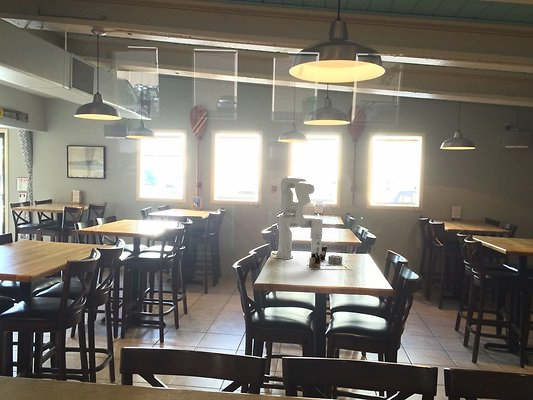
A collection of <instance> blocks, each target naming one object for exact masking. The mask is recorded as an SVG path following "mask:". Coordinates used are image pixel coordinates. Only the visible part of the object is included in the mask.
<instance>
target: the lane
mask: <svg viewBox="0 0 533 400" xmlns="http://www.w3.org/2000/svg"><path fill="white" fill-rule="evenodd" d="M327 266H332V267H333V266H335V267H336V266H338V267H340V266H343V267H344V268H310V270H313V271H315V270H317V271H318V270H319V271H321V270H322V271H323V270H325V271H326V270H327V271H340V270H341V271H352V269H351V268H350V267H348V266H347V265H345V264H341V265H333V264H327Z"/></svg>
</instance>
